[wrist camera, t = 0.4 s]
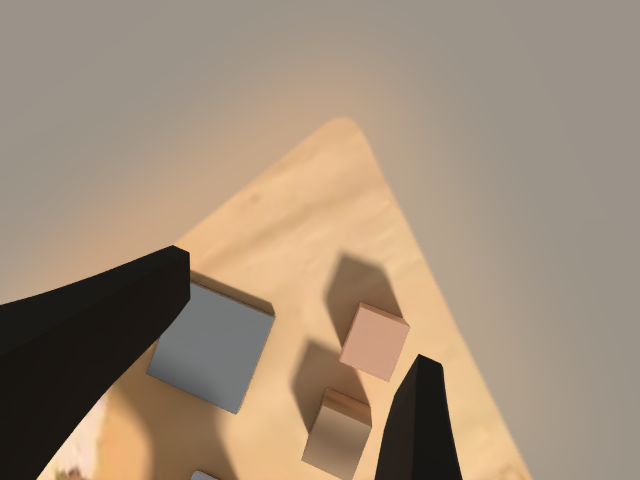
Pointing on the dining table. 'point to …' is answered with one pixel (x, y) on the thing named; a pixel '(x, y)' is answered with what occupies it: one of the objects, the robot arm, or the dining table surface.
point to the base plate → (212, 348)
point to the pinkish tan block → (374, 341)
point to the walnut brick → (338, 435)
